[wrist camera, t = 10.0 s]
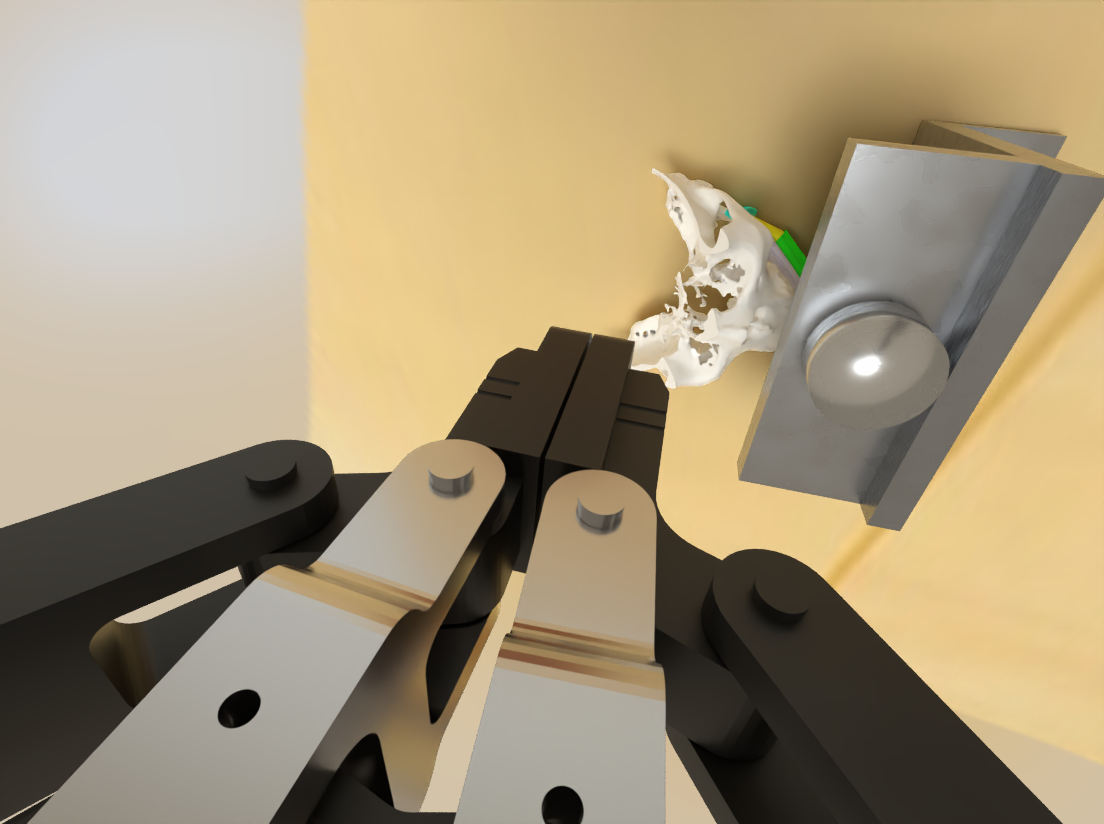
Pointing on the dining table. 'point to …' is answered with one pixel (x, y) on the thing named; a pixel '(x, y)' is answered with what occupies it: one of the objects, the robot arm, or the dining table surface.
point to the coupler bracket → (911, 308)
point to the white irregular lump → (719, 287)
